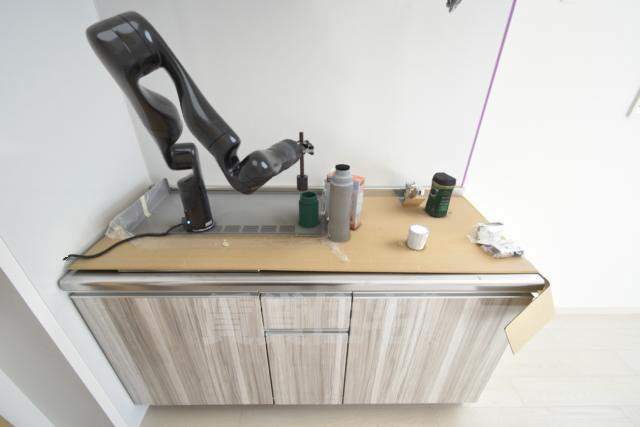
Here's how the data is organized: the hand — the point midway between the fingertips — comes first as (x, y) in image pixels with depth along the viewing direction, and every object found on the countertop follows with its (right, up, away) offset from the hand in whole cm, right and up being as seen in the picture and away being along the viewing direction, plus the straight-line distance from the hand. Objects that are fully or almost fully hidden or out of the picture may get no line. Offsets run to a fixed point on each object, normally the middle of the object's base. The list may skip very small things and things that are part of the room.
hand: (304, 142), depth 82 cm
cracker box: (+15, -28, +20) cm, 38 cm away
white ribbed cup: (+40, -36, +6) cm, 55 cm away
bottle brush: (-1, -15, +5) cm, 16 cm away
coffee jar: (+58, -24, +29) cm, 69 cm away
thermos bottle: (+12, -33, +11) cm, 37 cm away
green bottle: (+1, -28, +19) cm, 34 cm away
